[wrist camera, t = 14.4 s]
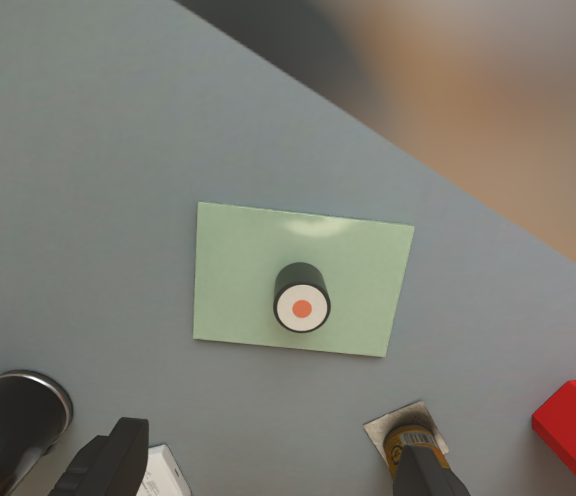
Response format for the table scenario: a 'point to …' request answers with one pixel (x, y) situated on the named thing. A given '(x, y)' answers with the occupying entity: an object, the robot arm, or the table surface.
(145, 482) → the hard drive
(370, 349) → the sushi plate
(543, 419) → the book
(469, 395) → the table surface
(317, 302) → the sushi roll
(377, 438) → the condiment
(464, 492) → the robot arm
